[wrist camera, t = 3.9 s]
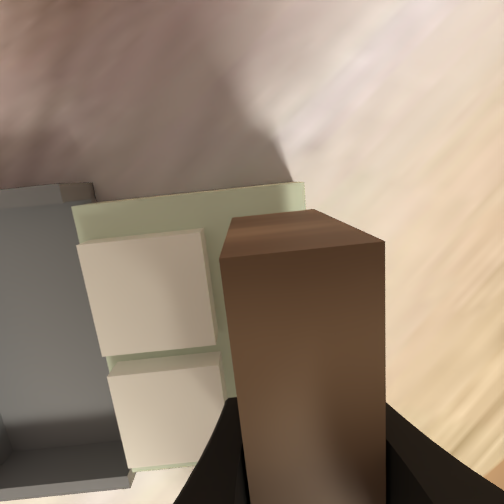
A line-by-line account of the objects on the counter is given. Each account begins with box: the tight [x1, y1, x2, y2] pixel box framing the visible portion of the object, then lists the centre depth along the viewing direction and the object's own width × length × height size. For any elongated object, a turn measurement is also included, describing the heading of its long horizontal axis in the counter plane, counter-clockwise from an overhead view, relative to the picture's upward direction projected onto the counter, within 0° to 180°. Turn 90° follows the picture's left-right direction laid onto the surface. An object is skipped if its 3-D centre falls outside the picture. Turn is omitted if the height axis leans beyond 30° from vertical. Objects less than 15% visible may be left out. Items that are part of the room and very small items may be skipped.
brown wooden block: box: [219, 209, 386, 504], centre depth 10 cm, size 12×3×6 cm, turn 6°
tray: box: [0, 183, 136, 501], centre depth 17 cm, size 16×9×3 cm, turn 6°
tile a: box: [107, 351, 227, 469], centre depth 15 cm, size 5×5×1 cm
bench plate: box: [71, 182, 306, 472], centre depth 16 cm, size 14×10×3 cm
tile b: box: [76, 228, 218, 357], centre depth 14 cm, size 5×5×1 cm
